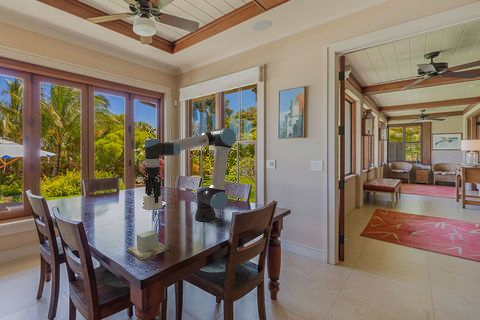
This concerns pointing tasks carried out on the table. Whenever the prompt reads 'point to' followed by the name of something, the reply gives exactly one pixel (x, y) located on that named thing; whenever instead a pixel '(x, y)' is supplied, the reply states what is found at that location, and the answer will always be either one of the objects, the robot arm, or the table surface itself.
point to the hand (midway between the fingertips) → (152, 207)
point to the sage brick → (147, 240)
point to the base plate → (148, 253)
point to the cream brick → (151, 202)
